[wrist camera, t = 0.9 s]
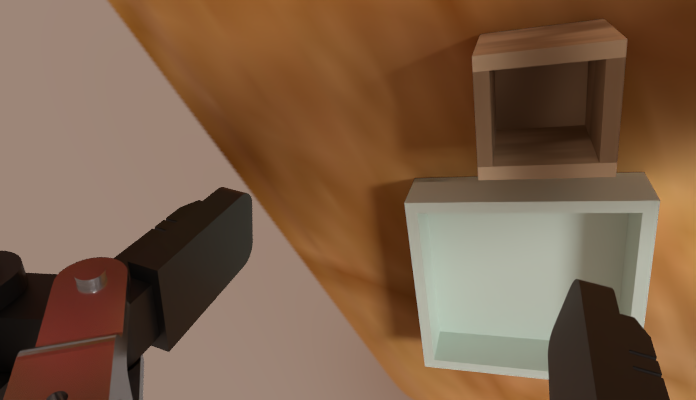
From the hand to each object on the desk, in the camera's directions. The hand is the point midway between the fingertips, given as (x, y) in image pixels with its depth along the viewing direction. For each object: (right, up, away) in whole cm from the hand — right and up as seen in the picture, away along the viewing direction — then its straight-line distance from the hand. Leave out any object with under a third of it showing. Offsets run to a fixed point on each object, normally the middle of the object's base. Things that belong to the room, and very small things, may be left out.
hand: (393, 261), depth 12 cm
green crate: (+10, -3, +20) cm, 23 cm away
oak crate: (+9, +8, +14) cm, 19 cm away
